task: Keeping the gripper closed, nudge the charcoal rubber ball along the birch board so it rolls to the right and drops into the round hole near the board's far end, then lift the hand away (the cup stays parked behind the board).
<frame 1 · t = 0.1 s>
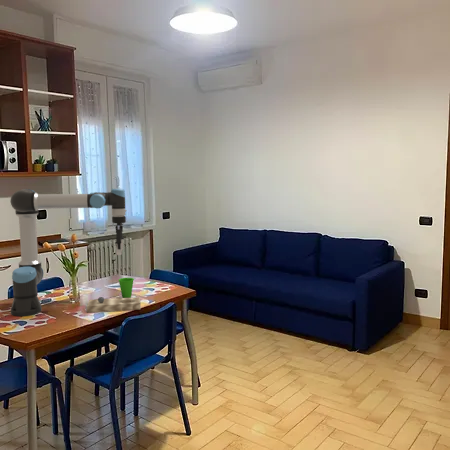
hand: (119, 252, 267), 28 cm above the table, fingers open, 13 cm apart
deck: (114, 307, 256), on the table
ball: (101, 299, 253), point 5 cm above the table, touching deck
cup: (126, 297, 275), on the table
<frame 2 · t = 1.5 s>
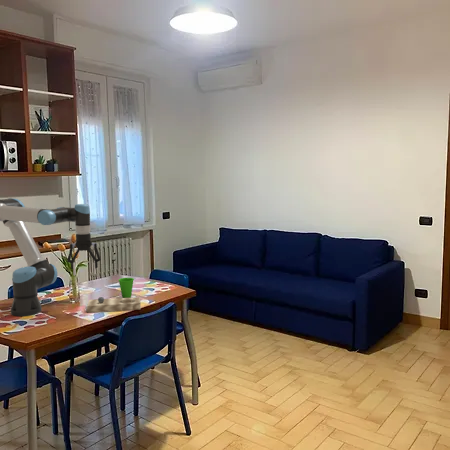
hand: (84, 274, 249), 20 cm above the table, fingers open, 10 cm apart
nothing on the table moved.
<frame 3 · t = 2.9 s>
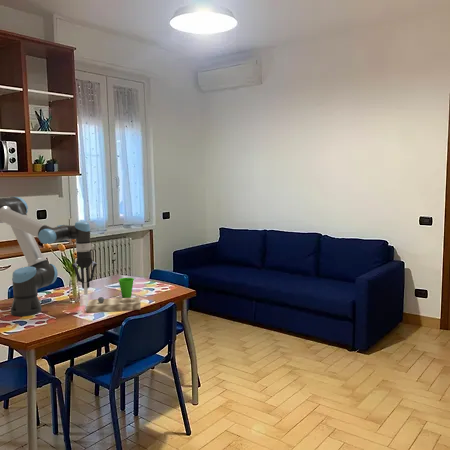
hand: (86, 293, 251), 9 cm above the table, fingers closed
nothing on the table moved.
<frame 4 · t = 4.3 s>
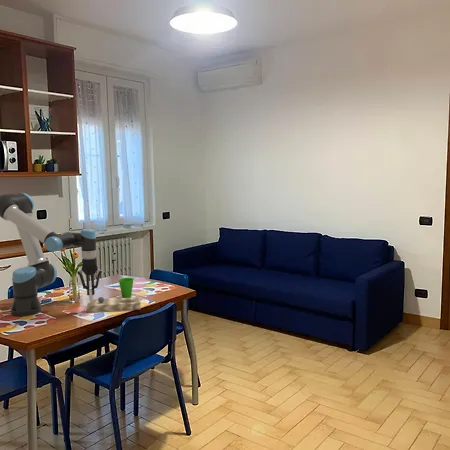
hand: (91, 300, 252), 5 cm above the table, fingers closed
nothing on the table moved.
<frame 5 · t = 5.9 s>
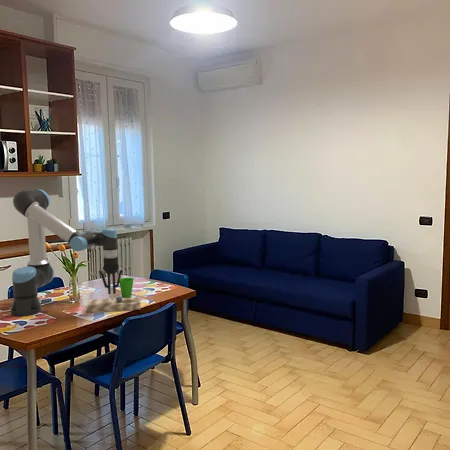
hand: (112, 299, 254), 5 cm above the table, fingers closed
ball: (119, 299, 254), point 5 cm above the table, tilted 19°, touching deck
everything else where it was.
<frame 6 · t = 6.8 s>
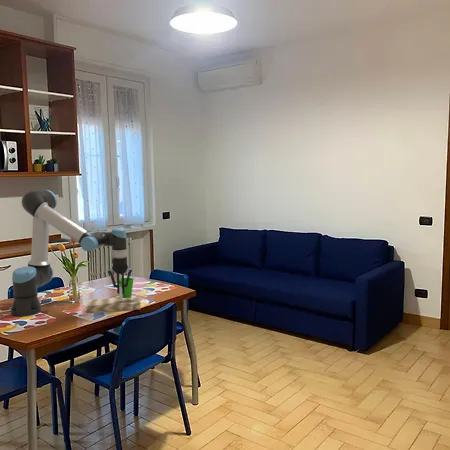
hand: (121, 299, 255), 5 cm above the table, fingers closed
ball: (126, 304, 256), point 2 cm above the table, tilted 145°
everything else where it was.
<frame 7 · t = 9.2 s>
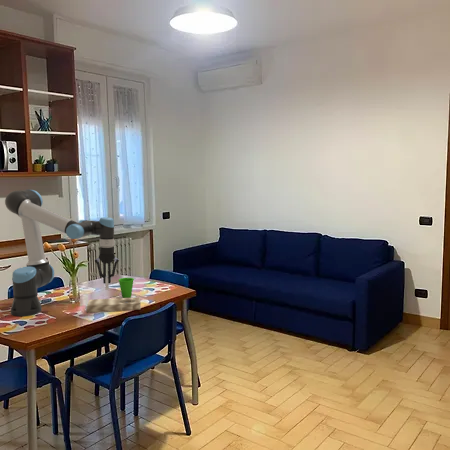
hand: (107, 289, 253), 11 cm above the table, fingers closed
nothing on the table moved.
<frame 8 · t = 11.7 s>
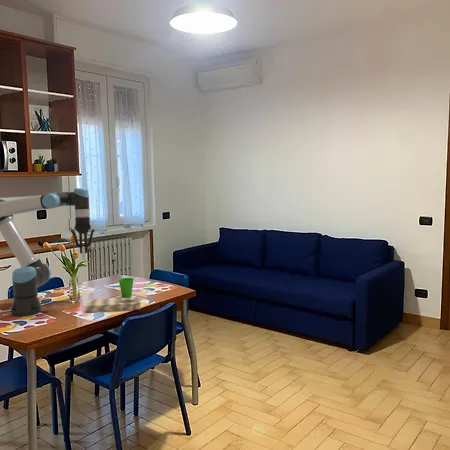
hand: (84, 259, 256), 26 cm above the table, fingers closed
nothing on the table moved.
at the end: ball 0.5 cm from the target spot in the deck, point 1.6 cm above the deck's base; ball point 1.6 cm above the table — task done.
